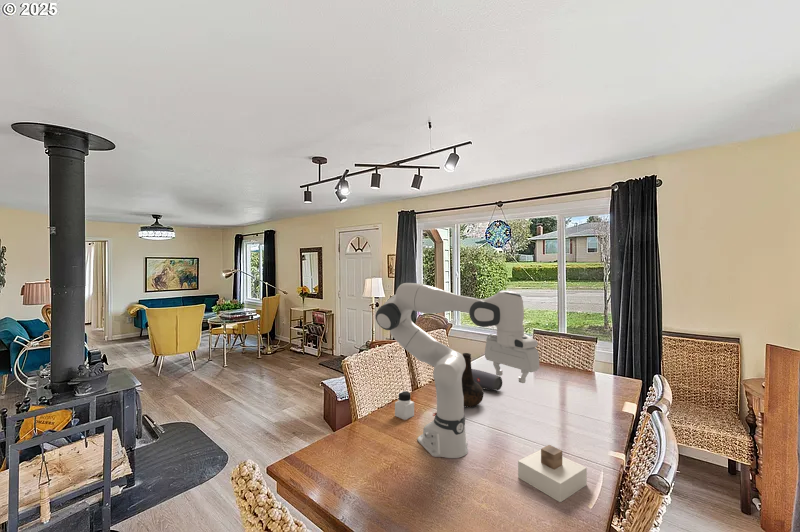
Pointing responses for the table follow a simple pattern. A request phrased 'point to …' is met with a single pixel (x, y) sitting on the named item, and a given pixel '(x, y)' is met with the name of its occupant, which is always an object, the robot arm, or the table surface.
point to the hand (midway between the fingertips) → (510, 378)
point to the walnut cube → (551, 457)
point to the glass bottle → (470, 385)
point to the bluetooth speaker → (487, 380)
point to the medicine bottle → (404, 406)
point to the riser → (553, 476)
